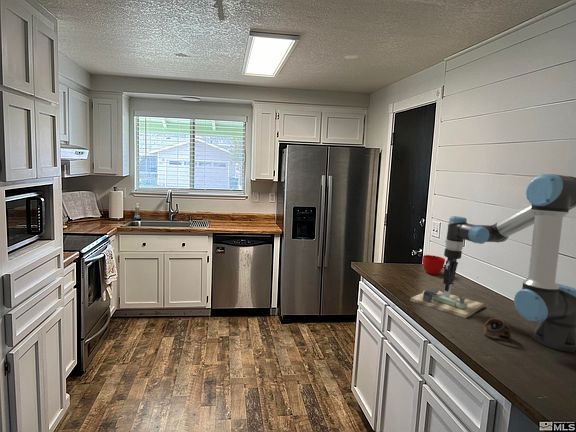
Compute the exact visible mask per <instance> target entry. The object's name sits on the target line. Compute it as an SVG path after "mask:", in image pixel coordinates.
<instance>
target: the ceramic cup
mask: <svg viewBox="0 0 576 432" xmlns="http://www.w3.org/2000/svg"><path fill="white" fill-rule="evenodd" d="M445 264H446V259H445V258H444V257H442V256H437V255H430V254H424V255H423V256H422V267H423V269H424V271H425V273H427V274H429V275H432V276H433V275H438V274H439V273H440V272H442V271H443V270H444V265H445Z"/></svg>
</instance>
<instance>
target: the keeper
mask: <svg viewBox="0 0 576 432" xmlns="http://www.w3.org/2000/svg"><path fill="white" fill-rule="evenodd" d="M423 291H424V295H423V301H426V302H431V301H432V295H434V294H436V293H438V291H440V290H439V289H438V288H434V287H431V288H428V289H427V290H423Z"/></svg>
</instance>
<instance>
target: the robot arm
mask: <svg viewBox="0 0 576 432" xmlns="http://www.w3.org/2000/svg"><path fill="white" fill-rule="evenodd" d="M525 197H526V199H527V200H528V203H529V205H527V206H526V207H524V208H522V209H520V210H518V211H516V212H514V213H512V214H511V215H508V216H507V217H505V218H503V219H501V220H499V221H497V222H495V223H494V224H492V225H491V224H490V225H488V224H486V225H483V224H481V225H480V224H472V223H467V222H468V221H467V218H466V217H463V216H459V215H458V216H457V215H453V216H452V215H451V216H450V217H449V221H448V224H447V233H446V239H445V241H444V242H445V248H444V252H443V255H444V257H445V258H447V260H445V264H444V266H443V271H444V272H443V281H442V284H444V287H443V288H444V289H443V292H444V293H443V296H445V297H449V298H450V294H451V291H452V285H455V283H454V281H455V278H456V277H455V276H456V272H457V269H458V268H457V267H458V264H459V262H458V260H459V259H460V260H461V258H462V254H463V251H462V250H463V247H464V240H466V241H469V242H471V243H473V244H479V245H482V244H485V243H501V242H502V243H503V242H506V241H507V240H508V239H509V237H510V236H512V235H514V234H516V233H518V232H521V231H522V230H524V229H526V228H528V227H531V226H533V231H532V239H531V240H532V241H531V249H530V258H529V266H528V267H529V268H528V277H527V279H525V280H523V281H522V287H521V289H520V290H518V291H517V292H516V293H515V295H514V297H513V304H514V308H515V310H516V311H517V312H518V314H519V315H520V316H521V318H523V319H525V320H527V321H530V322H539V323H538V325H537V326H536V328H535V330H534V331H533V336H532V337H533V339H534V341H536V342H537V343H539V344H540V345H543V346H545V347H547V348H551V349H553V350H557V351H562V352H571V353H572V352H575V351H576V288H575V287H571V286H568V285H565V284H560V283H556V279H557V278H556V277H557V269H558V261H559V251H560V245H561V244H560V243H561V237H562V236H561V235H562V226H563V218H564V217H565V216H566V215H567V214H569V211H570V210H572V209H575V208H576V177H575V176H571V175H562V174H553V173H549V174H546V173H545V174H540V175H537V176H535V177H534V178H533V179H532V180H530V182H529V183H528V185H527V187H526V190H525ZM575 353H576V352H575Z"/></svg>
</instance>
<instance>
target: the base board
mask: <svg viewBox="0 0 576 432" xmlns="http://www.w3.org/2000/svg"><path fill="white" fill-rule="evenodd" d="M443 293H444V291H440V290H439V291H438V293H436V294H439V295H442V296H443ZM450 298H452V299H455V300H458V301H460V302H461V303H464V302H465V303H467V304H468V305H467V309H460V308H457V307H455V306H452V305H449V304H446V303H443V302H440V301H437V300H434V299H432V301H431V302H426V301H423V292H421V293H419V294H417V295H413V296H411V297H410V298H409V301H410V302H413V303H416V304H420V305H421V306H422V305H423V306H425V307H428V308H432V309H435V310H438V311H441V312H444V313H447V314H451V315H453V316H454V315H455V316H457V317H460V318H464V319H467V318H468V317H470V316H472V315H473V314H475V313H476V312H478V311H479V310H481V309H482V308H484V307H485V303H483V302H479V301H476V300H471V299H468V298H467V297H466V296H463V295H459V296H458V295H455V294H451V293H450Z"/></svg>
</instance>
